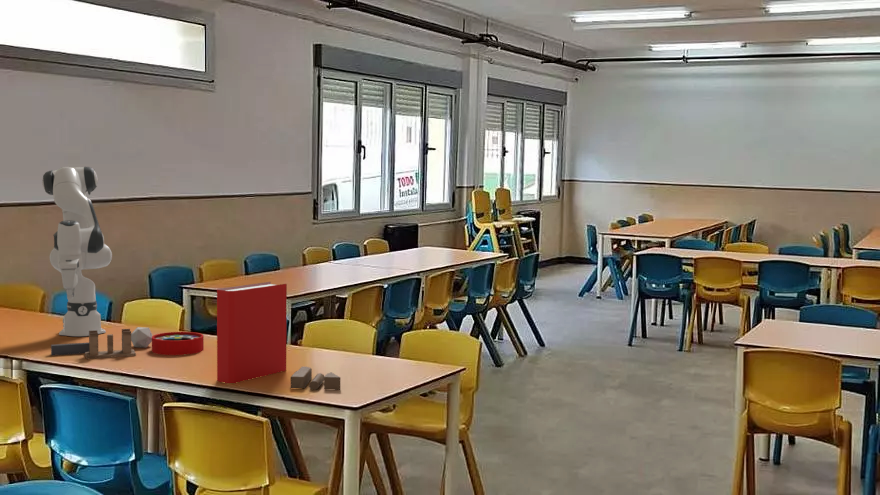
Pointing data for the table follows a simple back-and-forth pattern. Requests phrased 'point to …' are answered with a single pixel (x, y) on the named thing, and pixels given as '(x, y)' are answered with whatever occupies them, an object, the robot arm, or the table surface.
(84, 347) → the frame bar
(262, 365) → the book
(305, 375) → the wooden block set
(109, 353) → the stand
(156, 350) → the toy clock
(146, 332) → the die
